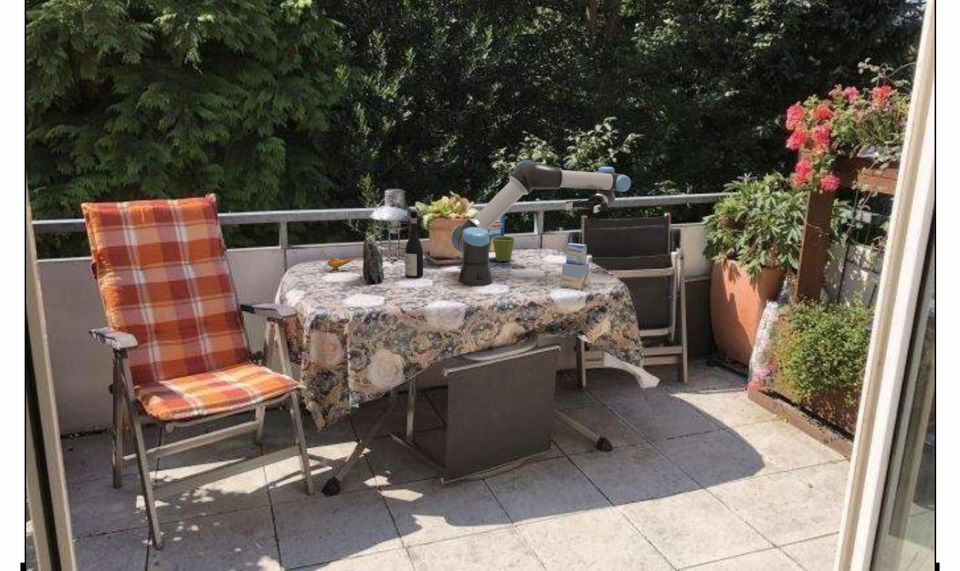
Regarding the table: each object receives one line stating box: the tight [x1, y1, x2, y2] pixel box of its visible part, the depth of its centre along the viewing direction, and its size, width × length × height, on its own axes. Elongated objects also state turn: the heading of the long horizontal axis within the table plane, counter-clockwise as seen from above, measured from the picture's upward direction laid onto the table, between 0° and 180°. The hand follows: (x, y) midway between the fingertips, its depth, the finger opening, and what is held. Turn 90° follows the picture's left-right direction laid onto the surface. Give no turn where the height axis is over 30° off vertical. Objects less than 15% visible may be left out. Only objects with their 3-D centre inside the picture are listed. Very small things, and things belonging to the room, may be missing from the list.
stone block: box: [362, 234, 385, 285], centre depth 344 cm, size 18×9×20 cm, turn 3°
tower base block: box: [561, 274, 590, 290], centre depth 341 cm, size 9×9×5 cm
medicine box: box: [565, 242, 588, 265], centre depth 338 cm, size 8×4×9 cm, turn 64°
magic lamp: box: [318, 247, 359, 272], centre depth 360 cm, size 7×18×11 cm, turn 96°
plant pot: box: [492, 235, 516, 262], centre depth 385 cm, size 12×12×11 cm
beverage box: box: [488, 212, 506, 253], centre depth 407 cm, size 7×11×22 cm, turn 116°
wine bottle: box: [404, 210, 424, 279], centre depth 349 cm, size 8×8×30 cm
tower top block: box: [561, 261, 590, 278], centre depth 340 cm, size 9×9×5 cm
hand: (580, 208), depth 346 cm, fingers open, 13 cm apart
